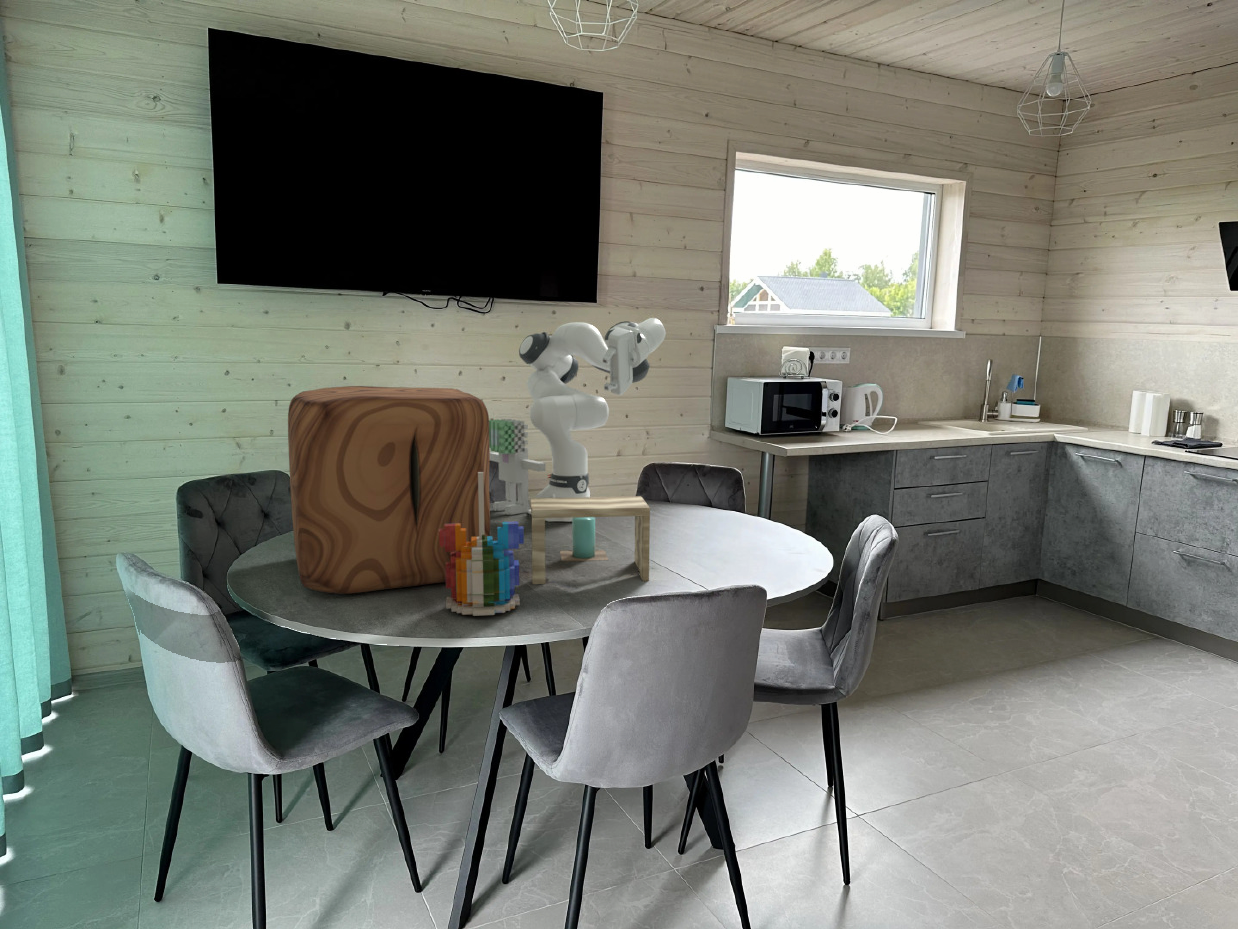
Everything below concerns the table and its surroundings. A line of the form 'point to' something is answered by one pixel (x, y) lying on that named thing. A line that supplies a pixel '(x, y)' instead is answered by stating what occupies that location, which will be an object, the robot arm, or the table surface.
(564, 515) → the wooden step stool
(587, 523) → the mint green cylinder
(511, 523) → the toy
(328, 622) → the table surface
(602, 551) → the tray
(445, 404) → the brown wooden cube stool
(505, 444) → the toy
